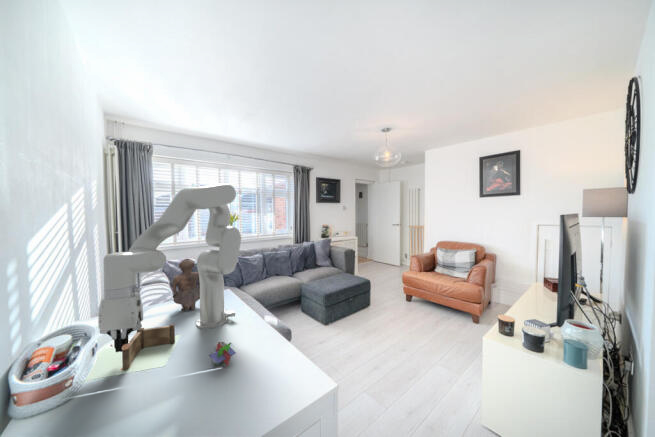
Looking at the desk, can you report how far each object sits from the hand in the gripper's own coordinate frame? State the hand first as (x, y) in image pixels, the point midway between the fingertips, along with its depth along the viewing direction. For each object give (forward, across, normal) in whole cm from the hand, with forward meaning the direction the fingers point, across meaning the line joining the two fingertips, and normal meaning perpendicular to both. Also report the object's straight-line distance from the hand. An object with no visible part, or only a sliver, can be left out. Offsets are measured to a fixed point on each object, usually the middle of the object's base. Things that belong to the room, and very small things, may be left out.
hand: (121, 349), depth 74 cm
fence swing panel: (+4, -2, -1) cm, 5 cm away
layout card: (+5, -2, -4) cm, 6 cm away
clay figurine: (+5, -7, -42) cm, 42 cm away
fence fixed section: (+4, -6, -8) cm, 11 cm away
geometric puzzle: (+5, -31, +8) cm, 32 cm away
